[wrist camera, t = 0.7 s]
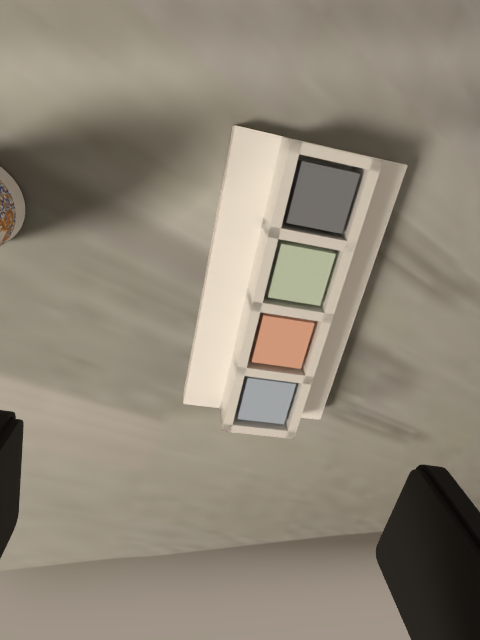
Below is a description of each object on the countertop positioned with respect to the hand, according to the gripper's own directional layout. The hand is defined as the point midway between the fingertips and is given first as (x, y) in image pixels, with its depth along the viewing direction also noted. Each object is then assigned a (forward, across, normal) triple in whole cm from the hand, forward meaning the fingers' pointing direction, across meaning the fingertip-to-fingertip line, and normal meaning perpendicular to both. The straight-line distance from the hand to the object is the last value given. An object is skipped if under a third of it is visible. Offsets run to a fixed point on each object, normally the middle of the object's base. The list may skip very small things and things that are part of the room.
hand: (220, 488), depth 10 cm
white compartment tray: (+29, -8, +3) cm, 30 cm away
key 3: (+26, -8, +6) cm, 28 cm away
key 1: (+25, -8, -6) cm, 27 cm away
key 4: (+26, -8, +12) cm, 30 cm away
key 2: (+26, -8, 0) cm, 27 cm away
